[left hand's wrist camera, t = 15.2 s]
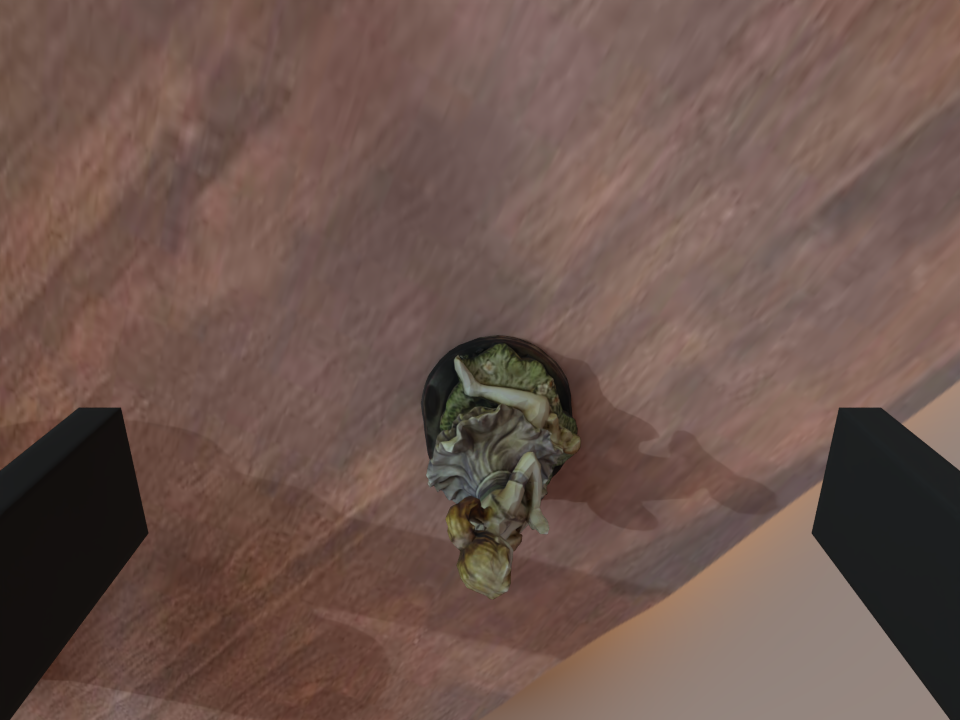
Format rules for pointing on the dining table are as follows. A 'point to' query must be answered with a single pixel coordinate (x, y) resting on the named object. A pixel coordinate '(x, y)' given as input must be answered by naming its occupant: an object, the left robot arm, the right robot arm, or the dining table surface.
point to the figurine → (495, 448)
